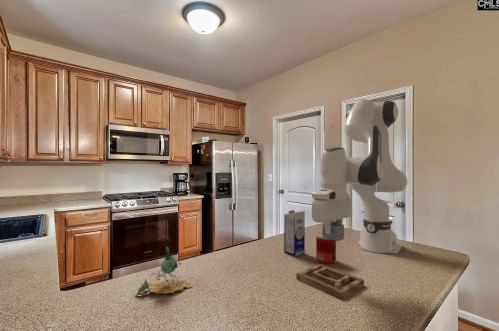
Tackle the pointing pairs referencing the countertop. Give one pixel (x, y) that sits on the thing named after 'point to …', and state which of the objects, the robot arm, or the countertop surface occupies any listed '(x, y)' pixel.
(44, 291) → the countertop surface
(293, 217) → the milk carton
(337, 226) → the grey block
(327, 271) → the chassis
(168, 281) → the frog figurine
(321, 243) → the canned food
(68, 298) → the countertop surface
